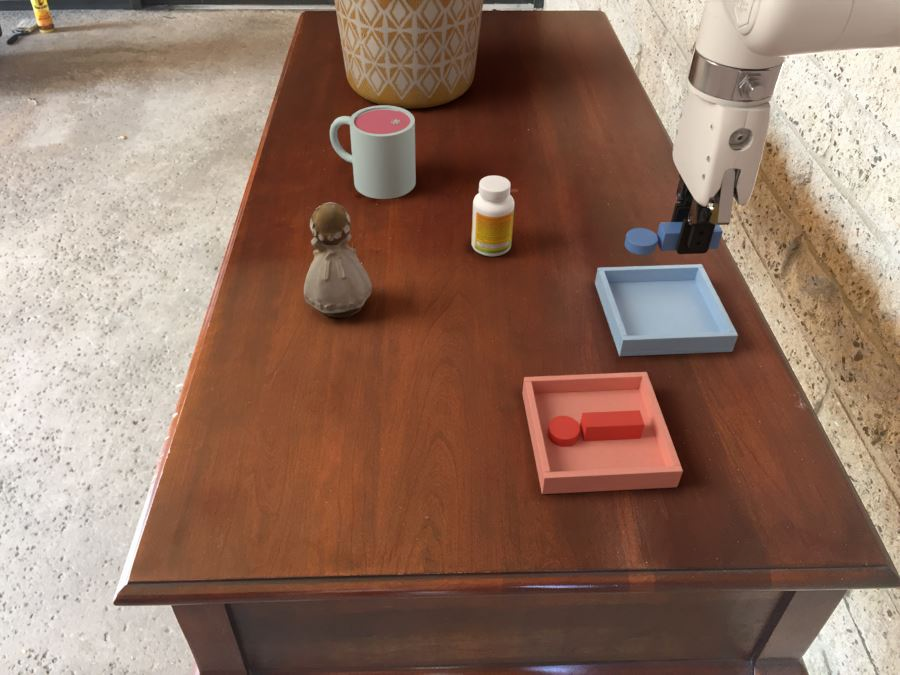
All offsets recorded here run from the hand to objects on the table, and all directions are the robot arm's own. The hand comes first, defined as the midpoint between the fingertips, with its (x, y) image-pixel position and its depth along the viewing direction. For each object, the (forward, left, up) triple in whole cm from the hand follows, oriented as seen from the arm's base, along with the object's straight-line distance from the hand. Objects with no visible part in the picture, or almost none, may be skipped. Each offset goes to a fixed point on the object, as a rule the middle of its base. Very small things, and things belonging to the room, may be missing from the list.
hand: (687, 243), depth 80 cm
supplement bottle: (+21, +17, -15) cm, 31 cm away
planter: (+71, +26, -15) cm, 77 cm away
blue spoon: (0, +1, 0) cm, 2 cm away
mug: (+39, +33, -15) cm, 54 cm away
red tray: (-13, +10, -15) cm, 22 cm away
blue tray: (+6, -2, -15) cm, 16 cm away
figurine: (+9, +37, -15) cm, 41 cm away
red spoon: (-13, +10, -14) cm, 22 cm away
